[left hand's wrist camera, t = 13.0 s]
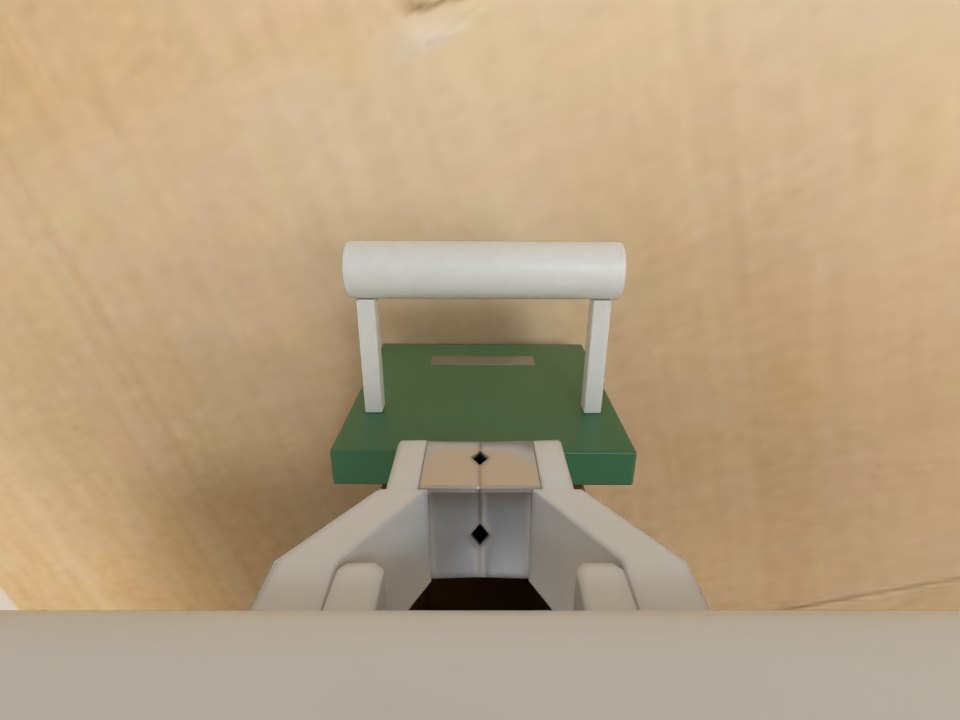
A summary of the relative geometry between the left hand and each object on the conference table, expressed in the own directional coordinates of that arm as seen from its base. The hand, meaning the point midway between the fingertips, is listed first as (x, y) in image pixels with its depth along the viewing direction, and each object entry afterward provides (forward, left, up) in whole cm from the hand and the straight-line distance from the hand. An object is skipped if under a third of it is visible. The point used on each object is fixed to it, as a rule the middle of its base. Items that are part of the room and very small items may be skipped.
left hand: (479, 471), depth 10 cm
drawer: (-7, +6, -15) cm, 17 cm away
